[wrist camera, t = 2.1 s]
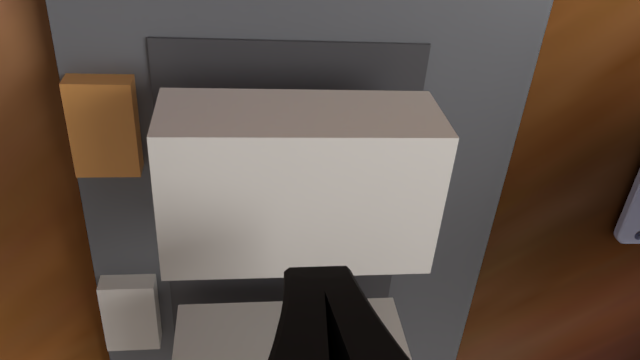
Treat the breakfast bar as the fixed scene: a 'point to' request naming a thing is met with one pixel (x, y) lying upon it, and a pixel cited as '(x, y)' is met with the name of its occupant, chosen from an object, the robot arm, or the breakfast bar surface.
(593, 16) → the breakfast bar surface
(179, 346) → the button
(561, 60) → the breakfast bar surface
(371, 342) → the robot arm
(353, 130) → the button
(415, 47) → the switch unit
